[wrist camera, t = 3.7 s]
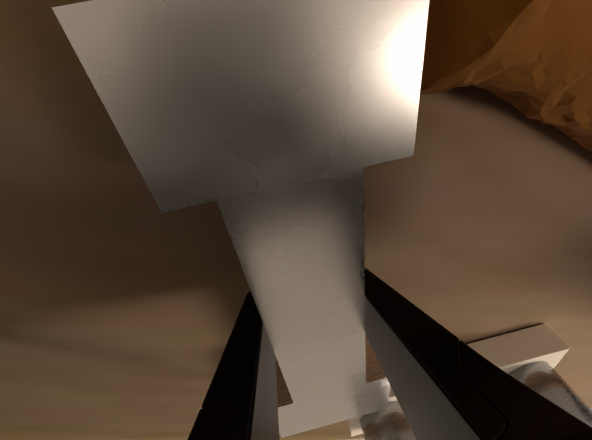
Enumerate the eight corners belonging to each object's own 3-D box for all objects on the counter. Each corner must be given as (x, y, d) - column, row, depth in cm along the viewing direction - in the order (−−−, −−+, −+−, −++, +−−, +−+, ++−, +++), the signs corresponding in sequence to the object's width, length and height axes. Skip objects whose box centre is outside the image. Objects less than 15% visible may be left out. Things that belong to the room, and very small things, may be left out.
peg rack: (544, 323, 16) (649, 425, 12) (520, 359, 18) (602, 454, 14) (340, 377, 15) (379, 506, 11) (343, 408, 18) (376, 523, 13)
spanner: (364, -33, 6) (436, -62, 4) (367, 356, 14) (387, 407, 12) (117, 12, 5) (50, 7, 3) (275, 380, 14) (282, 438, 12)
